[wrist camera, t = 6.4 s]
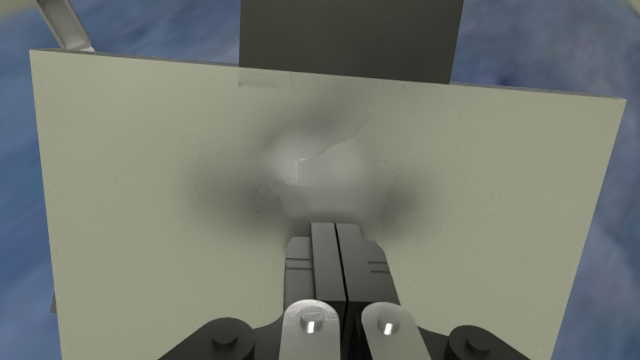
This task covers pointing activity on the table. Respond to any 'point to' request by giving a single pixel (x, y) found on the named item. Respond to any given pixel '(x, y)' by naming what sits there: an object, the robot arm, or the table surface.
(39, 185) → the table surface
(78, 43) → the lighter
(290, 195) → the lid
